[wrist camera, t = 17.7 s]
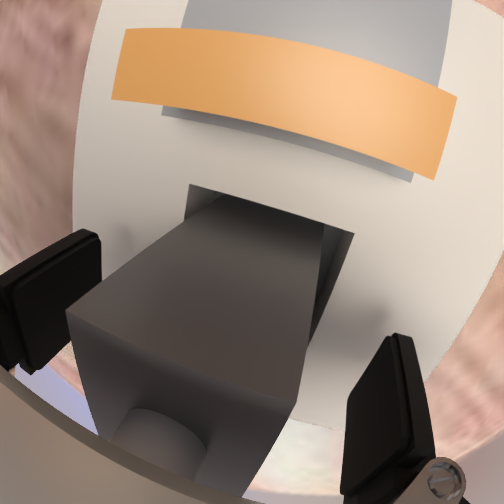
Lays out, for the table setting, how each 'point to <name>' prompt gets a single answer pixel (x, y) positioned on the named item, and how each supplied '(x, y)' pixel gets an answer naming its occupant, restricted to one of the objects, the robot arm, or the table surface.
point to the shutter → (305, 75)
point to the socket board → (313, 201)
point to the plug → (202, 341)
